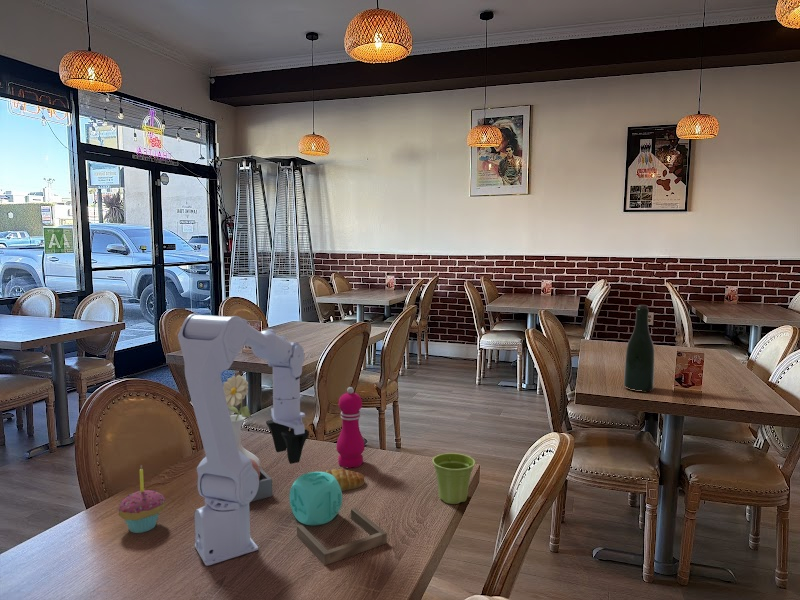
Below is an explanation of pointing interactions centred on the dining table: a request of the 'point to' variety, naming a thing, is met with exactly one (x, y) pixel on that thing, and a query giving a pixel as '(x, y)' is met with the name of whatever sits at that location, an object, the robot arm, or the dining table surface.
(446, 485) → the plant pot
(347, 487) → the pastry
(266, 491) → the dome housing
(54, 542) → the dining table surface
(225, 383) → the flower in vase
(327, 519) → the decorative dice
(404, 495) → the dining table surface
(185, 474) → the dining table surface
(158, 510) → the cupcake
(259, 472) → the pop dome
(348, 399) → the pepper mill
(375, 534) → the frame
